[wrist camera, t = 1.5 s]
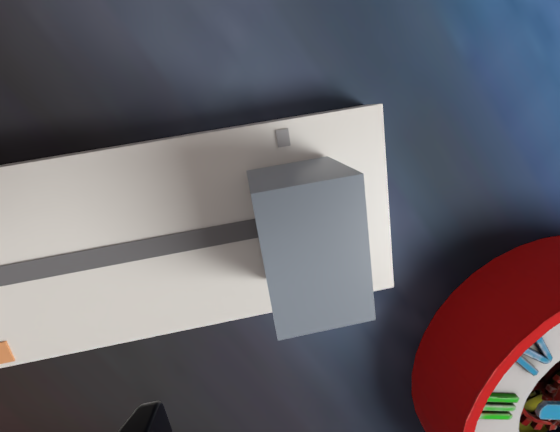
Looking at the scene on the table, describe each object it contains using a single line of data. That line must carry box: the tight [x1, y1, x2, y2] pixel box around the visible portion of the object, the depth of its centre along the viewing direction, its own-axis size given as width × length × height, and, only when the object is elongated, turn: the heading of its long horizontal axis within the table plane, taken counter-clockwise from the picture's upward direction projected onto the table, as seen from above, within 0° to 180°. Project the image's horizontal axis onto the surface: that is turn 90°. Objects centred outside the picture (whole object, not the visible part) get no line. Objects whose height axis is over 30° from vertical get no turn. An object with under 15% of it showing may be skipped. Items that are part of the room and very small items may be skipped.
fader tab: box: [246, 156, 376, 340], centre depth 15 cm, size 6×4×5 cm, turn 9°
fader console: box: [0, 104, 394, 368], centre depth 18 cm, size 10×26×3 cm, turn 99°
